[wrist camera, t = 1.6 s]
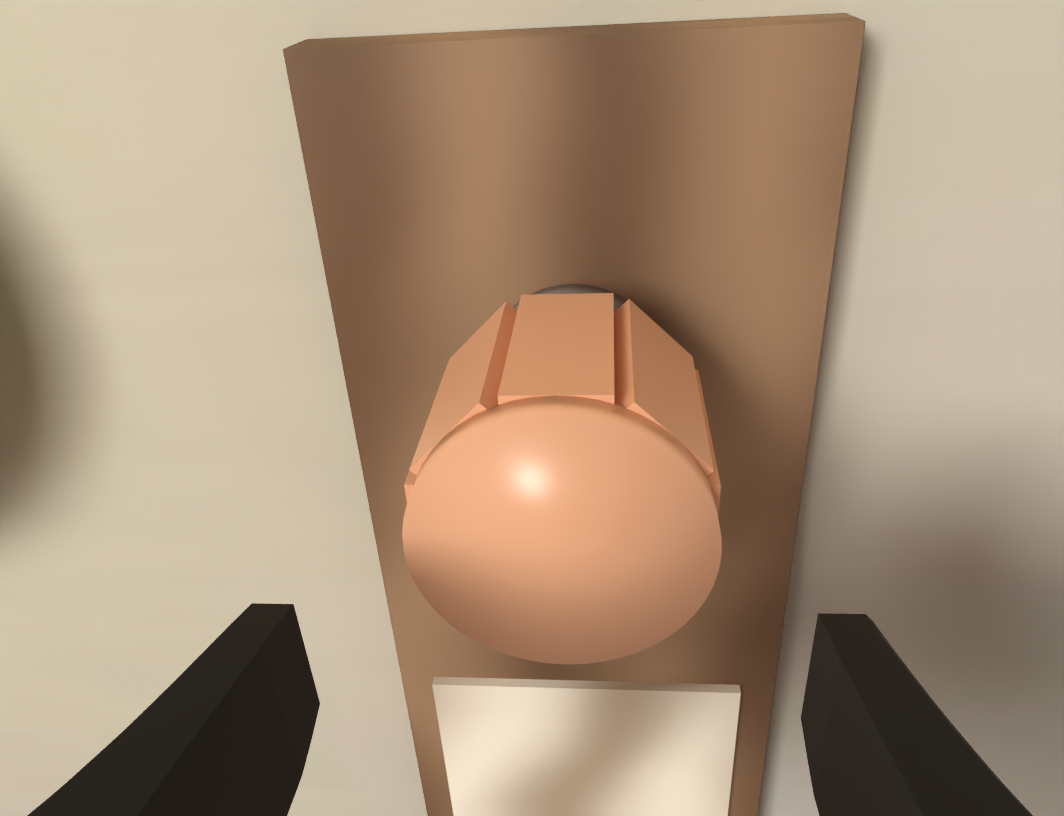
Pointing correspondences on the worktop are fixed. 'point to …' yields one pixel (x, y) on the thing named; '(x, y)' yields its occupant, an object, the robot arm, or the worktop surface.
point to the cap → (566, 484)
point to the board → (629, 273)
